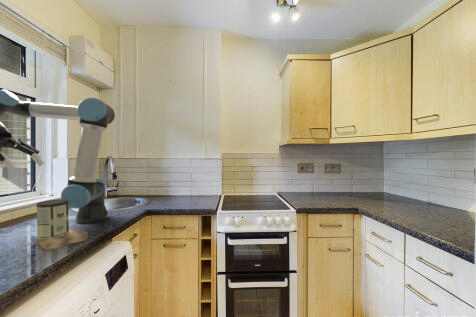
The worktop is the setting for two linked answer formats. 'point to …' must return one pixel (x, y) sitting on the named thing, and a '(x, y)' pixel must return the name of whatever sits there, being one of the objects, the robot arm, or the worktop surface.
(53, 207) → the coffee can
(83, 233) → the chopping board
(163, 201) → the worktop surface
